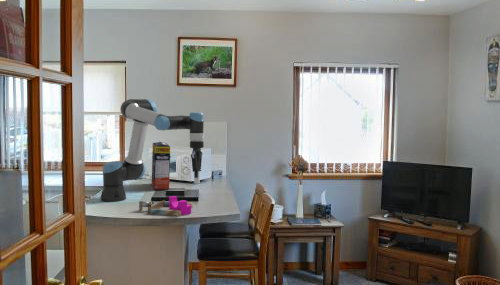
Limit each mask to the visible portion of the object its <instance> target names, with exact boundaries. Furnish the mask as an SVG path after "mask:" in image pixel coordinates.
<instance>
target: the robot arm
mask: <svg viewBox="0 0 500 285" xmlns="http://www.w3.org/2000/svg"><path fill="white" fill-rule="evenodd" d="M120 113H121V115H122V116H123V117H124V118H126V119H128V120H132V122H133V124H132V125H133V126H132V131H131V135H130V136H131V137H130V142H129V146H128V147H129V148H128V151H127V152H128V153H127V156H125V157H124V162H123V161H122V160H115V161H113V160H112V161H109V162H106V163H104V164H103V166H102V179H103V180H102V181H103V182H102V183H103V185H102V186H103V189H102V191H101V195H100V201H102V202H106V203H107V202H108V203H109V202H120V201H124V200H126V199H127V194H126V192H125V188H124V182H127V181H133V180H138V179H141V178H142V177H144V176H145V173H146V167H145V166H146V164H145V163H144V160H143V159H142V157H143V156H142V155H143V152H144V151H143V150H144V148H145V147H144V146H145V141H146V136H147V130H148V125H151V126H153V127H155V129H156V130H158V131H171V130H175V131H176V130H189V140H190V141H189V148H190V149H192V153H191V154H190V158H191V168H192V172H193V184H200V183H201V182H200V181H201V180H200V179H201V177H200V176H201V175H200V172H202V158H203V151H202V149H203V148H204V137H205V134H204V126H205V124H204V122H205V121H204V120H205V119H204V113H203V112H196V111H195V112H192V111H191V112H189V115H182V114H181V115H166V114H162V113H159V112H158V109H157V105H156V103H155V102H154V101H153V100H151V99H146V98H145V99H143V98H142V99H141V98H140V99H137V98H136V99H134V98H129V99H126V100H124V101H123V102H122V103H121V105H120Z"/></svg>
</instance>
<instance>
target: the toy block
mask: <svg viewBox="0 0 500 285" xmlns="http://www.w3.org/2000/svg"><path fill="white" fill-rule="evenodd" d="M168 201H169V206H168V210H169V209H170V210H180V211H181V216H184V215H183V214H185V215H190V214H189V213H191V214H192V208H191V206H190V205H188V204H187V203H188V201H187V200H183V199H182V200H178V196H177V195H173V196H169V197H168Z"/></svg>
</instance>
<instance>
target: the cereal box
mask: <svg viewBox="0 0 500 285" xmlns="http://www.w3.org/2000/svg"><path fill="white" fill-rule="evenodd" d="M151 159H152V160H151V186H152V188H153V190H154V191H167V190H168V189H169V190H170V173H171V172H170V170H171V169H170V167H171V166H170V165H171V145H169V144H168V143H167V142H163V141H159V142H158V141H157V142H152V158H151Z"/></svg>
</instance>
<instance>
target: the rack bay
mask: <svg viewBox="0 0 500 285" xmlns="http://www.w3.org/2000/svg"><path fill="white" fill-rule="evenodd" d="M187 204H188V205H190V206H191V209H192V208H193V206H194V205H193V202H187ZM163 207H169V200H168V201H166V200H161V201H159V202H157V203H154V204H153V205H151V207H150V208H148V207H147V214H148V215H159V214H161V215H162V216H175V215H178V216H179V217H181V216H182V215H181V211H180V210H169V209H164V208H163ZM162 208H163V209H162ZM161 215H160V216H161ZM180 215H181V216H180ZM178 216H177V217H178Z"/></svg>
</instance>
